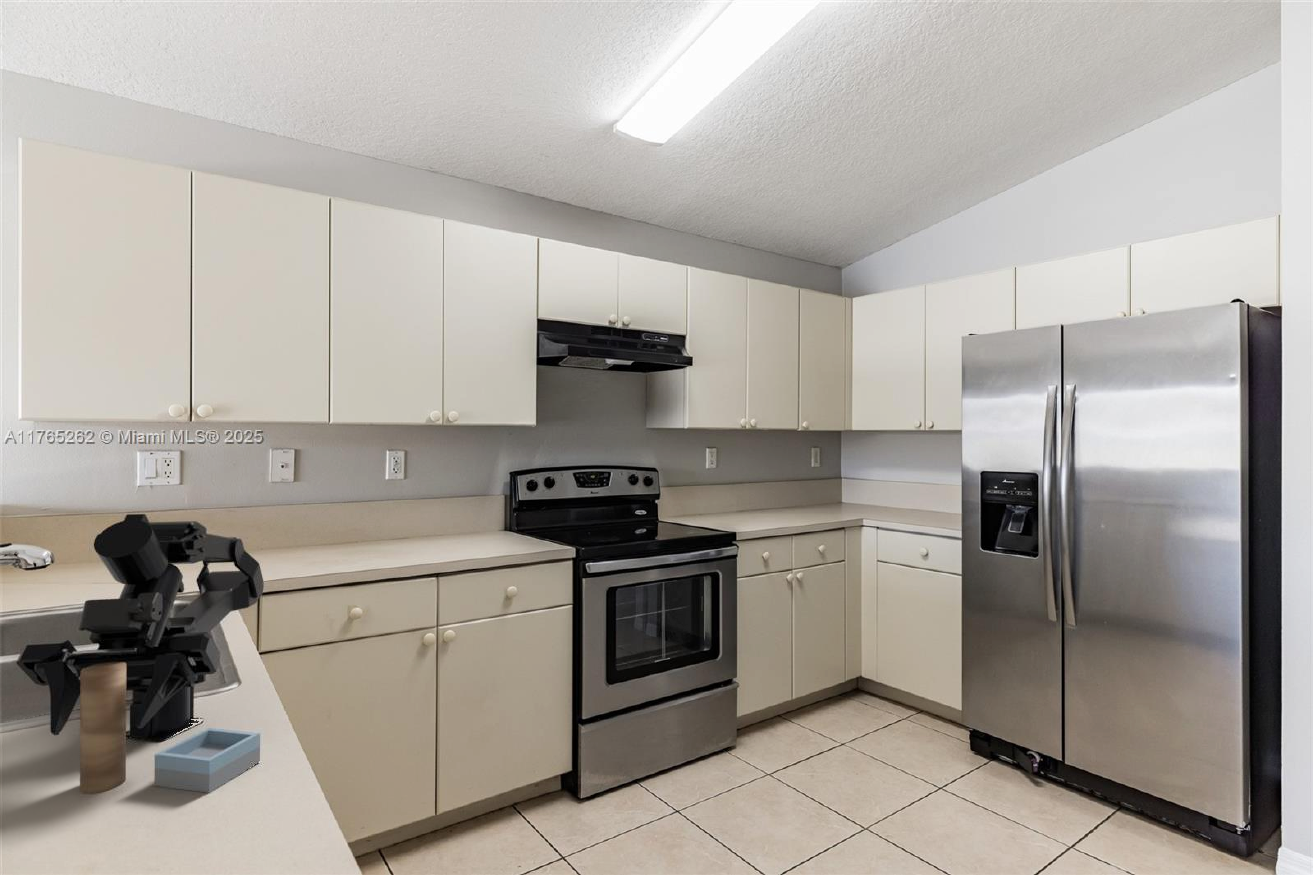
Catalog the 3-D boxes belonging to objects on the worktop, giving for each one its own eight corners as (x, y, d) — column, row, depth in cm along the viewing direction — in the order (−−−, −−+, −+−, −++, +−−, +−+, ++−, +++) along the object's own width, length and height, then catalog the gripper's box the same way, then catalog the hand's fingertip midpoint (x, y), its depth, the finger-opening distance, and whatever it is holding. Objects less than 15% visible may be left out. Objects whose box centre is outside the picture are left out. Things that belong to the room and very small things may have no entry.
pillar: (106, 773, 80) (106, 660, 80) (134, 777, 79) (135, 663, 79) (70, 791, 76) (70, 672, 76) (100, 795, 75) (100, 674, 75)
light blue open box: (208, 756, 84) (209, 727, 84) (259, 762, 82) (260, 733, 82) (154, 785, 77) (154, 754, 77) (209, 793, 75) (209, 760, 75)
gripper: (27, 571, 79) (-45, 705, 68) (212, 565, 83) (172, 689, 73) (66, 623, 86) (7, 750, 76) (234, 614, 91) (200, 733, 80)
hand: (97, 730), depth 76 cm, fingers open, 8 cm apart
